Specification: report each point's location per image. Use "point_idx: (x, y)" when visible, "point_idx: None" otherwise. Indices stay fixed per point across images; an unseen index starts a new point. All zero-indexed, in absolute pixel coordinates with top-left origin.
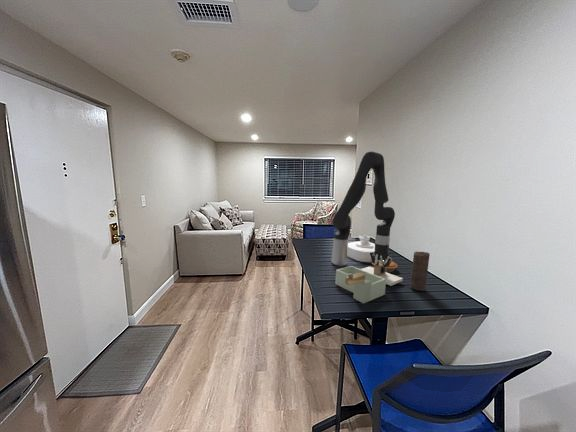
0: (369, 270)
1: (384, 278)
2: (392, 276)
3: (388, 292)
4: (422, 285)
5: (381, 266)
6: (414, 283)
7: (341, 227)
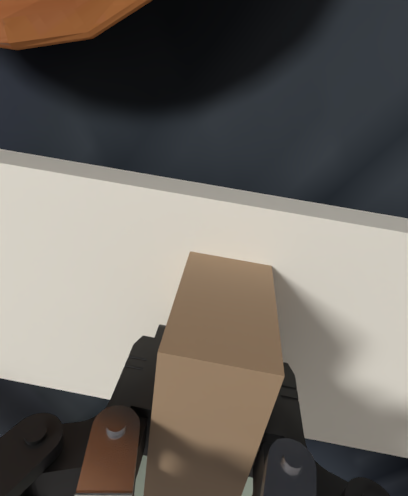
0: (62, 308)
1: (320, 406)
2: (396, 298)
3: (393, 461)
4: None
5: (238, 471)
6: None
7: None
